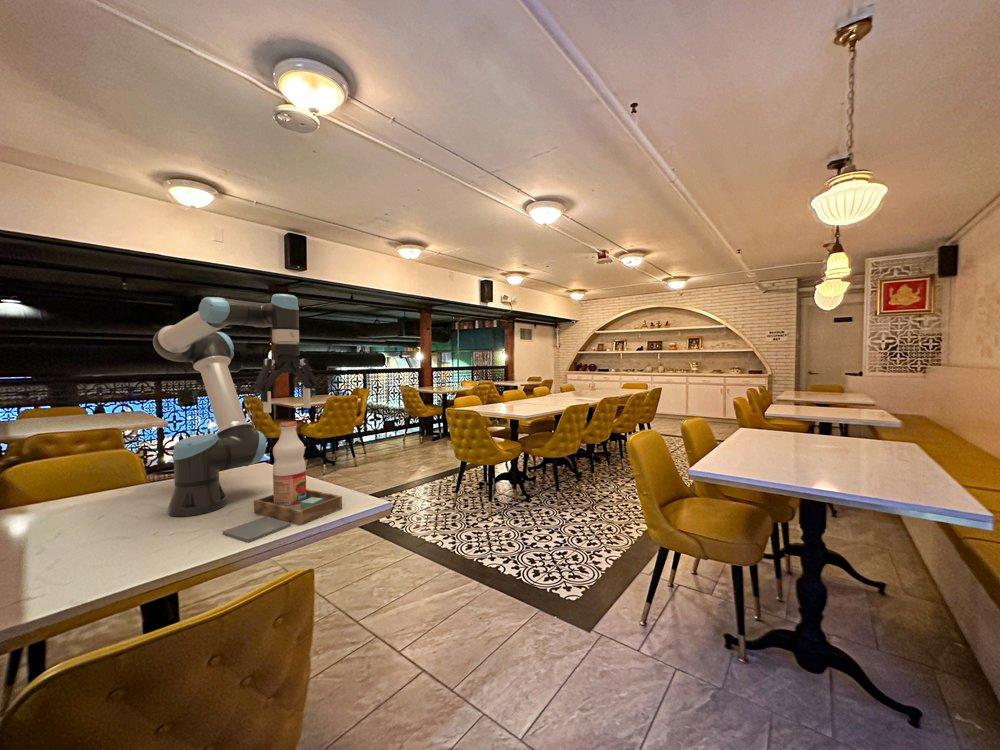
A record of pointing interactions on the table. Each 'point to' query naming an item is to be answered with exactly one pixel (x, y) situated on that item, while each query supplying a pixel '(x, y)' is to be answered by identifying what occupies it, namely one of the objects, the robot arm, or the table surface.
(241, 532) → the slate coaster
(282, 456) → the fruit juice
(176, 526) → the table surface
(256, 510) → the brown wooden tray
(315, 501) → the teal block
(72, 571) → the table surface
